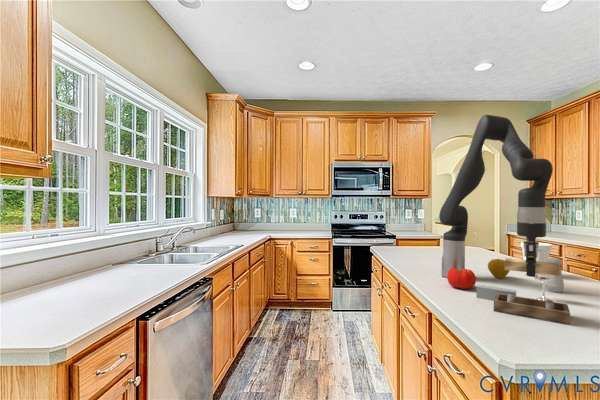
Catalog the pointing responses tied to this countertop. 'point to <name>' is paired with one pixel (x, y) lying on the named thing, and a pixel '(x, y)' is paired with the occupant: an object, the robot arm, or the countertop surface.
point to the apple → (497, 268)
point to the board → (539, 267)
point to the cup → (540, 252)
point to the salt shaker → (556, 279)
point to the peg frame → (532, 308)
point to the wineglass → (544, 280)
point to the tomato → (461, 278)
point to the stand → (492, 292)
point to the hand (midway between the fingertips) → (530, 274)
